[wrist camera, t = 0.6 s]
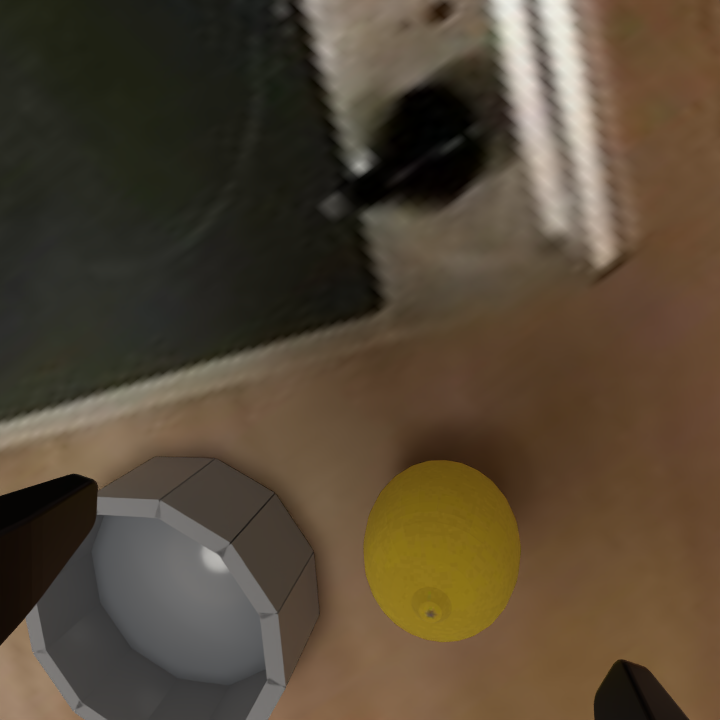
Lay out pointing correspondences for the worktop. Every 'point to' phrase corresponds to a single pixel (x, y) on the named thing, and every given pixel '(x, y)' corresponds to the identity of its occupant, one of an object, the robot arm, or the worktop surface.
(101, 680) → the bowl
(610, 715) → the robot arm
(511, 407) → the worktop surface
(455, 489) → the lemon
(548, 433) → the worktop surface
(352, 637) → the worktop surface
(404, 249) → the worktop surface
